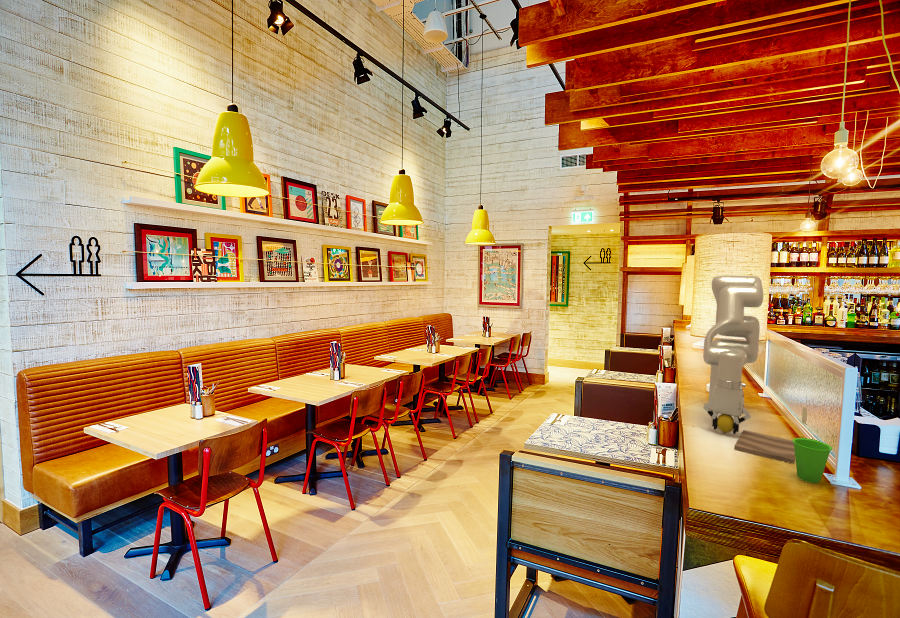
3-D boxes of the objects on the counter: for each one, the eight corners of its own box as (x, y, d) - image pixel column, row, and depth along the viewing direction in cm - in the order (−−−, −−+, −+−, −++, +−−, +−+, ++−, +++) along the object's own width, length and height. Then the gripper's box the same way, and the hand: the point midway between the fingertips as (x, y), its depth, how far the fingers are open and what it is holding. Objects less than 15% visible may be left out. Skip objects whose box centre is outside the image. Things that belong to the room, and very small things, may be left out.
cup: (788, 469, 133) (791, 435, 132) (826, 478, 128) (830, 442, 127) (790, 481, 126) (793, 444, 125) (831, 490, 120) (834, 452, 119)
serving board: (743, 433, 162) (743, 429, 162) (797, 445, 152) (797, 441, 152) (734, 449, 147) (734, 445, 147) (793, 464, 137) (793, 459, 137)
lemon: (718, 429, 165) (719, 409, 165) (735, 433, 161) (736, 413, 161) (714, 433, 162) (715, 412, 161) (731, 437, 158) (733, 416, 157)
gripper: (757, 386, 157) (753, 434, 159) (704, 378, 168) (701, 422, 170) (755, 391, 151) (751, 440, 153) (700, 381, 162) (696, 427, 164)
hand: (724, 430), depth 161 cm, fingers closed on lemon, 5 cm apart
